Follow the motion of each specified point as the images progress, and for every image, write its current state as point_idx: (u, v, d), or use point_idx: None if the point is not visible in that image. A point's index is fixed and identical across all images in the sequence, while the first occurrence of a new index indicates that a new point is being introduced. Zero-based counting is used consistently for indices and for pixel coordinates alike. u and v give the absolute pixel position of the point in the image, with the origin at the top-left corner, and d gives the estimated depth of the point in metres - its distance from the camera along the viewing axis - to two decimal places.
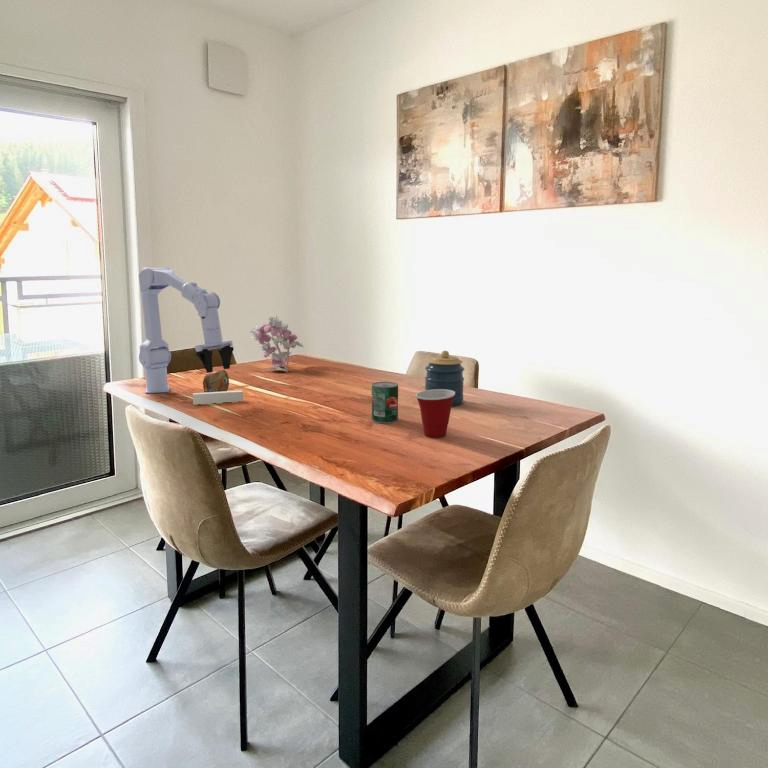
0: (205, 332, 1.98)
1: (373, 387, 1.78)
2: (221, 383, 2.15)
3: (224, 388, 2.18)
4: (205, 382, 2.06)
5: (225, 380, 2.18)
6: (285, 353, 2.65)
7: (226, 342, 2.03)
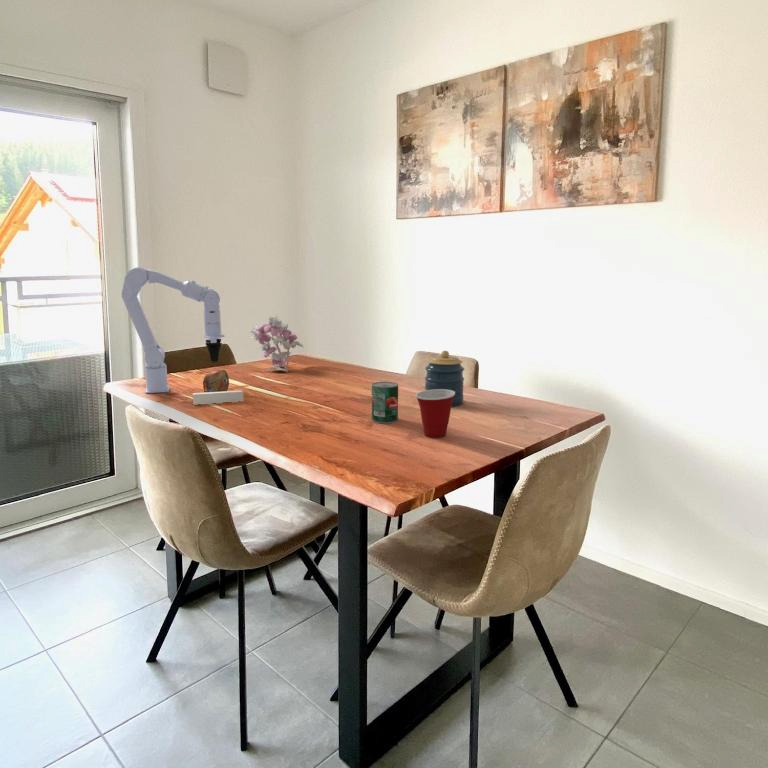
0: (212, 325, 2.19)
1: (373, 387, 1.78)
2: (221, 384, 2.15)
3: (224, 388, 2.18)
4: (205, 382, 2.06)
5: (225, 380, 2.18)
6: (285, 353, 2.65)
7: None
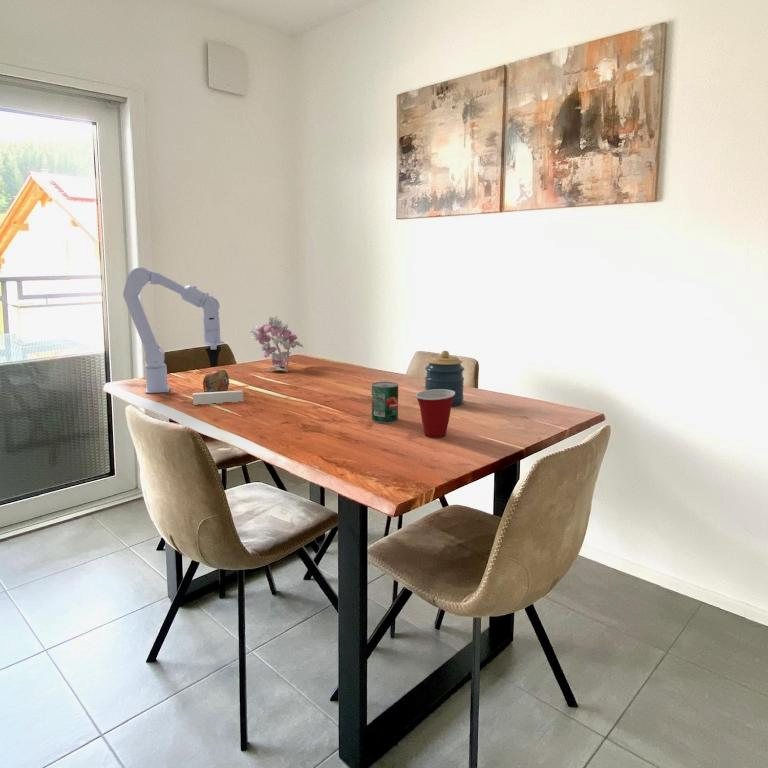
0: (212, 332, 2.20)
1: (373, 387, 1.78)
2: (221, 383, 2.15)
3: (224, 388, 2.18)
4: (205, 382, 2.06)
5: (225, 380, 2.18)
6: (285, 353, 2.65)
7: None
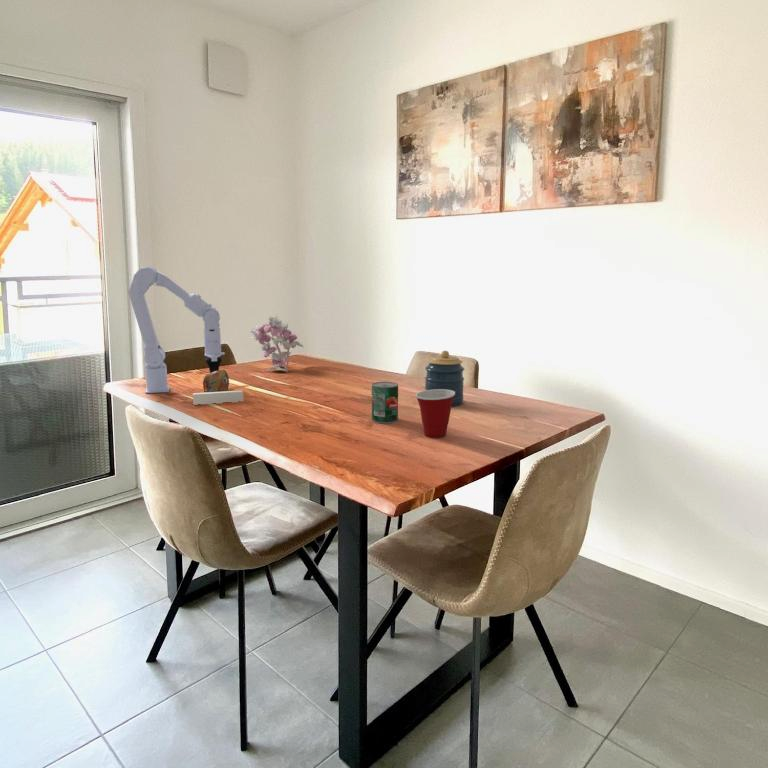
0: (213, 343, 2.19)
1: (373, 387, 1.78)
2: (221, 384, 2.15)
3: (224, 388, 2.18)
4: (205, 382, 2.06)
5: (225, 380, 2.18)
6: (285, 353, 2.65)
7: None
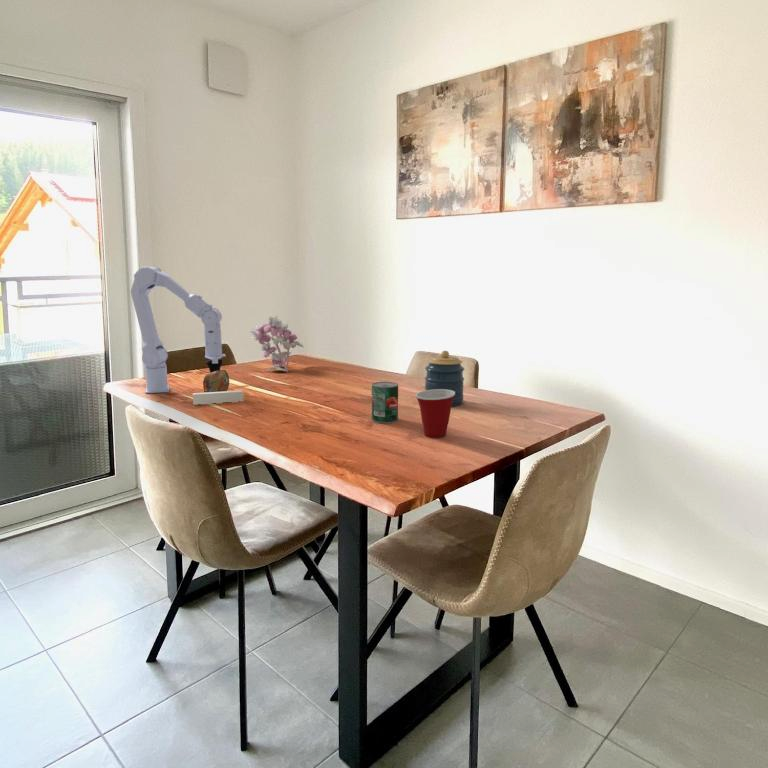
0: (213, 345, 2.15)
1: (373, 387, 1.78)
2: (221, 383, 2.15)
3: (224, 388, 2.18)
4: (205, 382, 2.06)
5: (225, 380, 2.18)
6: (285, 353, 2.65)
7: None
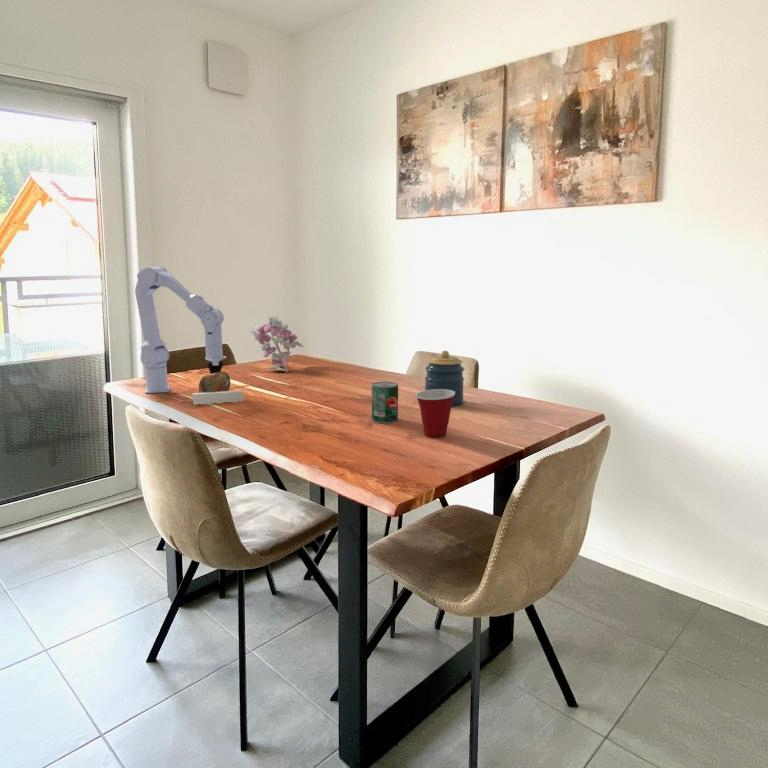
0: (214, 347, 2.11)
1: (373, 387, 1.78)
2: (220, 386, 2.11)
3: (224, 390, 2.13)
4: (201, 384, 2.03)
5: (226, 382, 2.14)
6: (285, 353, 2.65)
7: None
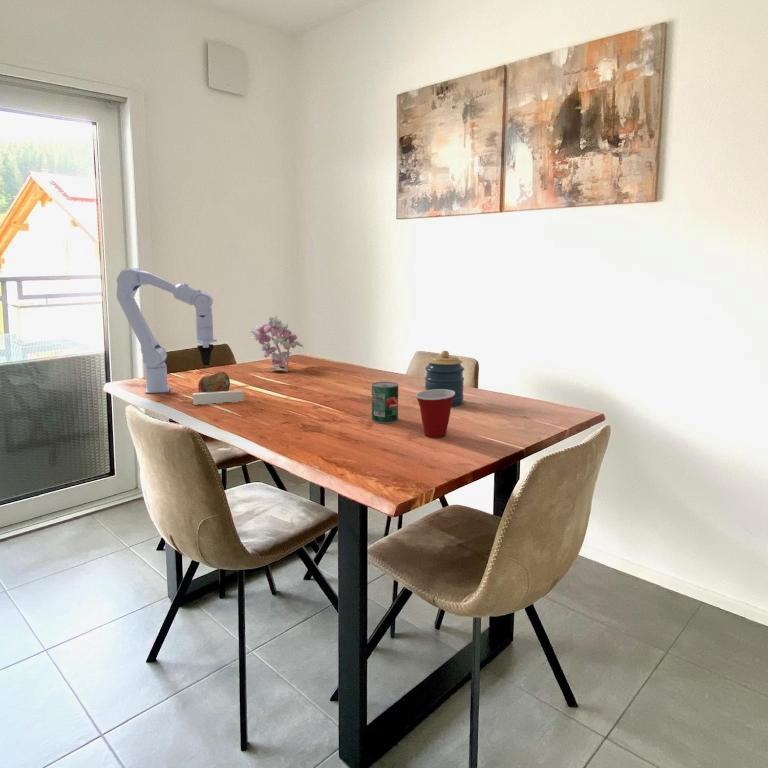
0: (204, 329, 2.15)
1: (373, 387, 1.78)
2: (220, 386, 2.11)
3: (224, 390, 2.14)
4: (200, 384, 2.03)
5: (225, 382, 2.14)
6: (285, 353, 2.65)
7: None
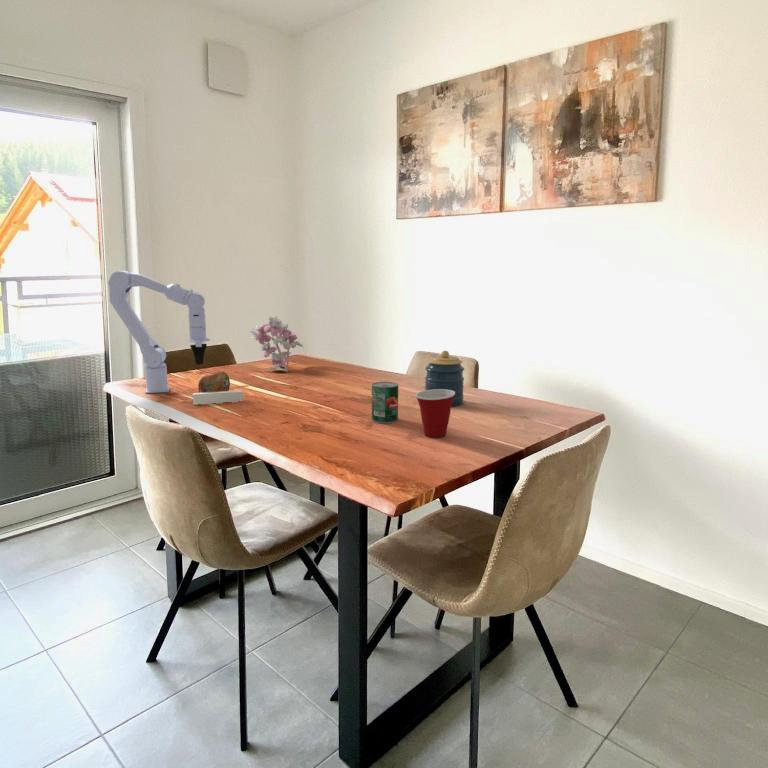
0: (197, 329, 2.16)
1: (373, 387, 1.78)
2: (220, 386, 2.11)
3: (224, 390, 2.14)
4: (200, 384, 2.03)
5: (225, 382, 2.14)
6: (285, 353, 2.65)
7: None
